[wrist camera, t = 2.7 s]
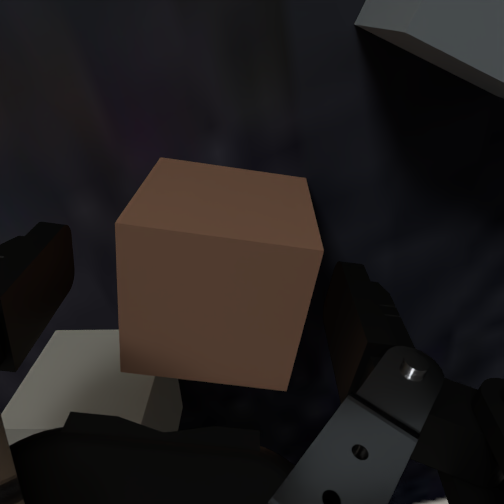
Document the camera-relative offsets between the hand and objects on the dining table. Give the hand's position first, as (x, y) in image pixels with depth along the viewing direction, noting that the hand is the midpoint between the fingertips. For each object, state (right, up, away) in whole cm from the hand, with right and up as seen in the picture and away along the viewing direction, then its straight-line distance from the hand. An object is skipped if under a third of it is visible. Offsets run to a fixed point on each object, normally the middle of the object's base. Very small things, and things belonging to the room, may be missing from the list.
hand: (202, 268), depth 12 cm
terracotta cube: (+1, +1, +3) cm, 3 cm away
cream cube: (-5, -5, +7) cm, 10 cm away
